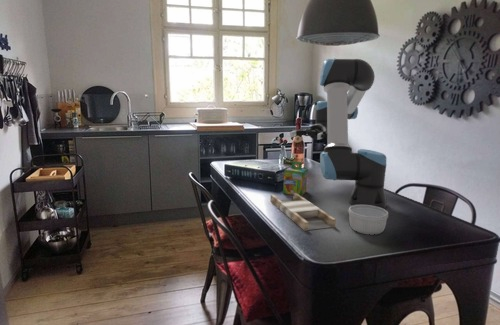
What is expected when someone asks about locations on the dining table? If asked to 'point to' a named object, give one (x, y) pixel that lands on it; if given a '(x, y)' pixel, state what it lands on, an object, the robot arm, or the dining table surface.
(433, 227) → the dining table surface
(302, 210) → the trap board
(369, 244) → the dining table surface
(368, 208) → the ramekin
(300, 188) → the chalk box
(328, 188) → the dining table surface
